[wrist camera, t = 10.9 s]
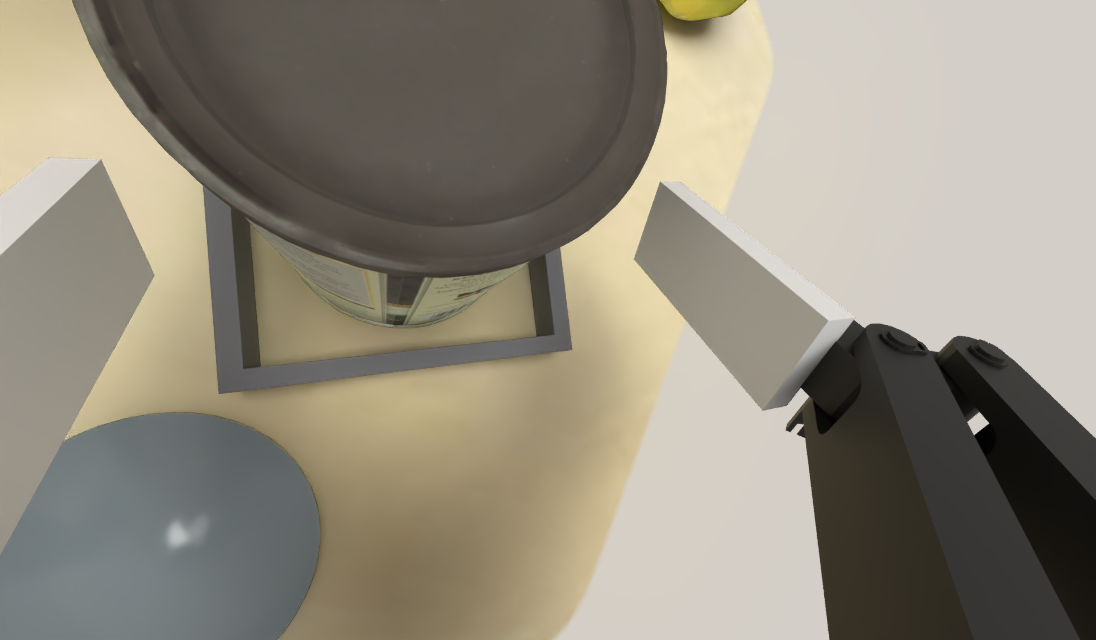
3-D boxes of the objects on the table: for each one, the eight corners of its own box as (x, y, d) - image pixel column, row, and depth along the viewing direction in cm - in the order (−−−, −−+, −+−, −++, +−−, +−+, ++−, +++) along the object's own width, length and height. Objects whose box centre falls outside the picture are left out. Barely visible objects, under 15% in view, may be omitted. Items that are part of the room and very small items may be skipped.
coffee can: (375, 75, 21) (363, -389, 8) (541, 212, 24) (738, 25, 11) (220, 236, 18) (-182, -78, 5) (427, 372, 21) (502, 389, 8)
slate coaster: (-37, 776, 14) (-45, 784, 14) (-52, 440, 15) (-60, 442, 15) (331, 655, 18) (330, 659, 18) (308, 392, 19) (307, 393, 19)
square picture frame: (239, 389, 18) (219, 394, 16) (214, 64, 19) (190, 22, 17) (553, 351, 23) (572, 349, 21) (523, 95, 24) (538, 66, 22)
